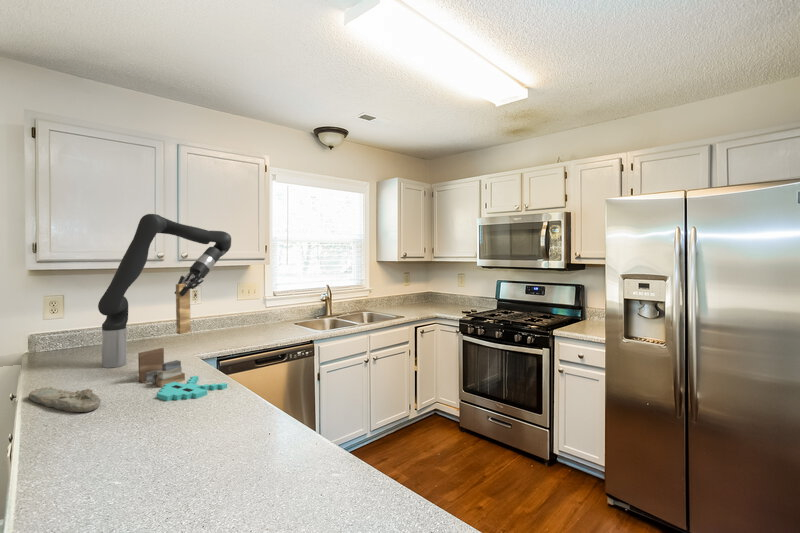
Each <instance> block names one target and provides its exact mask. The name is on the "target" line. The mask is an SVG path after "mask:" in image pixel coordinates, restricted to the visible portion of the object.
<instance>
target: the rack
mask: <svg viewBox="0 0 800 533" xmlns="http://www.w3.org/2000/svg"><path fill="white" fill-rule="evenodd" d="M164 350H165V349H164V347H159V348H155V349H150V350H145V351H141V352H138V354H137V355H138V356H137V357H138V358H137V359H138V363H137V364H138V383H142V384H149V383H152V385H154V386H156V378H157V371H160V370H162V363H165V352H164Z"/></svg>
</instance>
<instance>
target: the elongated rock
mask: <svg viewBox="0 0 800 533" xmlns="http://www.w3.org/2000/svg"><path fill="white" fill-rule="evenodd" d="M28 399H29V400H30V401H33V402H34V403H36V404H39V405H43V406H44V405H45V407H47V408H54V409H56V410H61V411H65V412H66V411H67V412H69V413H75V412H76V413H83V412H85V413H86V412H87V413H88V412H91V411H93V410H96V409H97V408H98V409H99V407H100V406H101V405H100V404H101V398H100V396H99V395H98V394H95V393H93V390H92V389H91V388H87V389H82V390H76V391H69V390H63V389H59V388H53V387H51V386H50V387H41V388H36V389H34V390H32V391H30V392H29V393H28Z"/></svg>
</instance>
